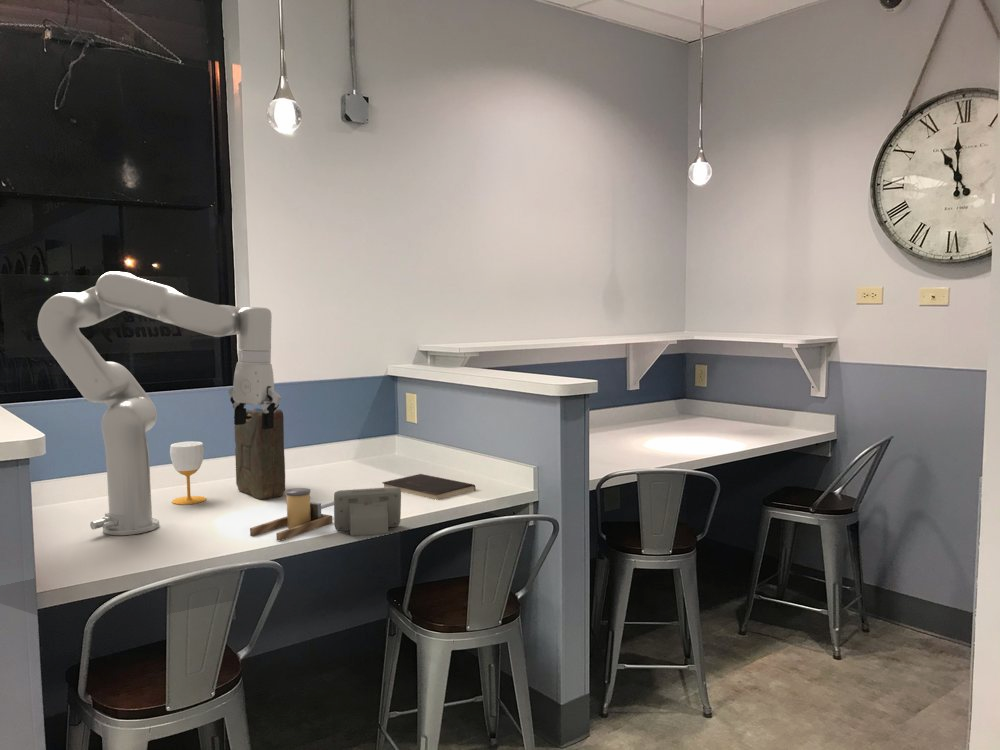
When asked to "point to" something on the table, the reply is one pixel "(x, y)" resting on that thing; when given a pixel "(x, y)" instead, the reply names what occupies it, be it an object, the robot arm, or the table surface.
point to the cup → (187, 466)
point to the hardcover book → (429, 486)
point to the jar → (298, 507)
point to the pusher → (318, 509)
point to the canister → (260, 456)
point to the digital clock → (367, 510)
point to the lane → (292, 531)
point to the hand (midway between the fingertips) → (253, 426)
